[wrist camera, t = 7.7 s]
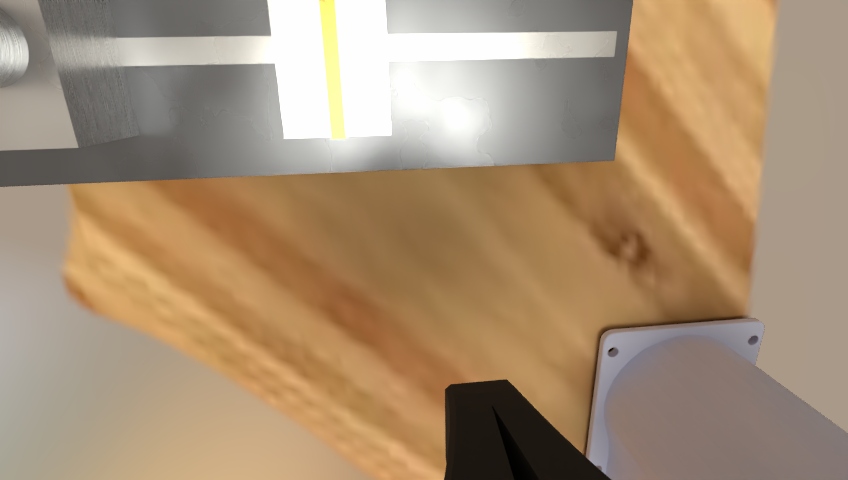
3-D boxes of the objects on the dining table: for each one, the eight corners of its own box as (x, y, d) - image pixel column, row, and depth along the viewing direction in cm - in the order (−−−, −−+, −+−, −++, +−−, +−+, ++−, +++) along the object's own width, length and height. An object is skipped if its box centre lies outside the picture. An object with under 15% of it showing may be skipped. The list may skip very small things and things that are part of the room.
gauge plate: (598, 155, 18) (745, 200, 11) (1, 180, 16) (-298, 256, 9) (623, -81, 15) (838, -225, 8) (-91, -90, 13) (-628, -295, 6)
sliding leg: (388, 129, 15) (391, 136, 13) (297, 132, 15) (284, 140, 12) (380, -47, 13) (381, -73, 11) (276, -47, 13) (257, -74, 11)
